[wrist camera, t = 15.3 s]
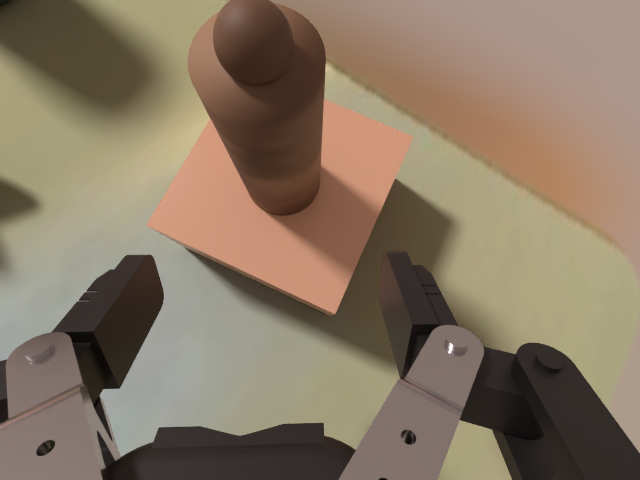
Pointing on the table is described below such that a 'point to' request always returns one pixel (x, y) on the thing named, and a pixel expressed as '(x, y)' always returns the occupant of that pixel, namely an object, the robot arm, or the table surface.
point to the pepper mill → (265, 98)
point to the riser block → (290, 230)
